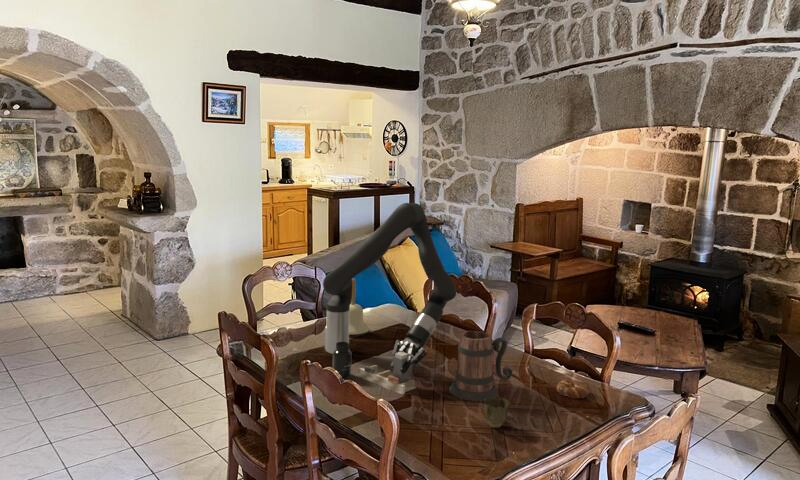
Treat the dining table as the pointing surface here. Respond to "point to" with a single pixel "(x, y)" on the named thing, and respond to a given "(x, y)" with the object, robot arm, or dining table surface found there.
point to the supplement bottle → (342, 359)
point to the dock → (386, 379)
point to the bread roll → (572, 389)
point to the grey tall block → (398, 364)
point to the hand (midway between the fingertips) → (397, 370)
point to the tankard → (478, 366)
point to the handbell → (356, 315)
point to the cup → (496, 411)
